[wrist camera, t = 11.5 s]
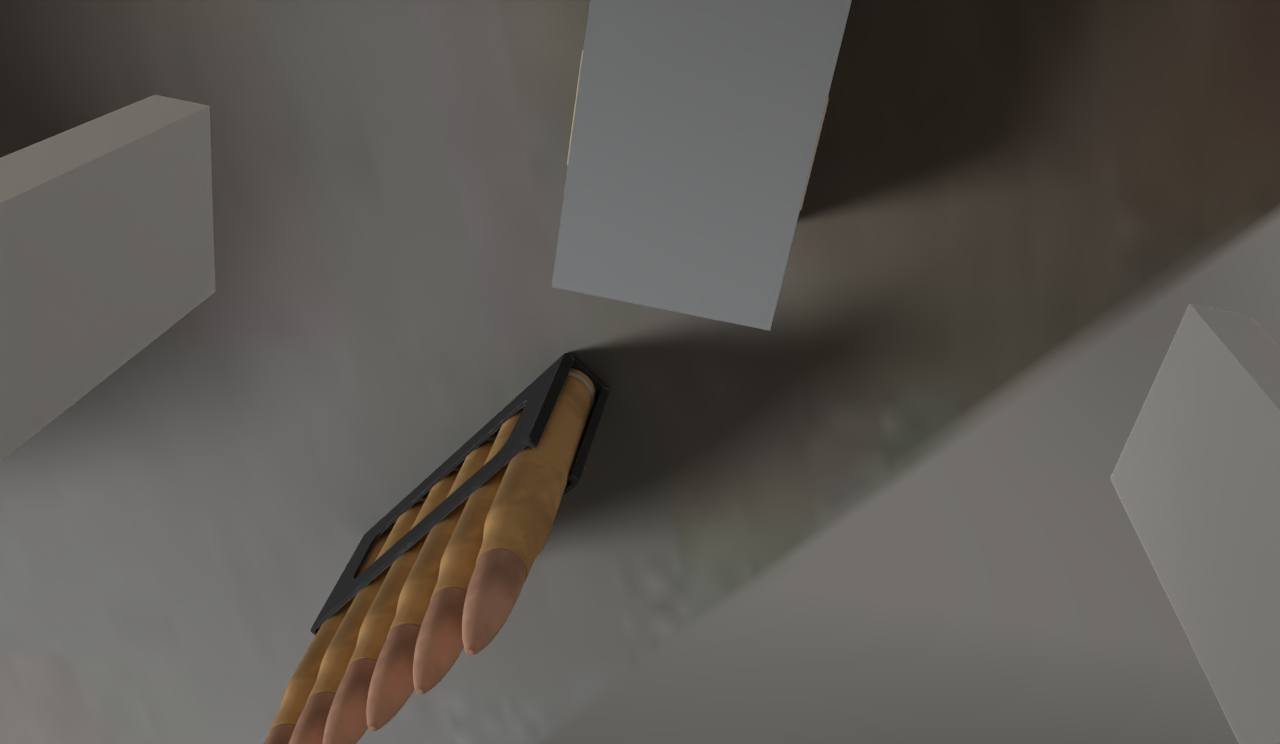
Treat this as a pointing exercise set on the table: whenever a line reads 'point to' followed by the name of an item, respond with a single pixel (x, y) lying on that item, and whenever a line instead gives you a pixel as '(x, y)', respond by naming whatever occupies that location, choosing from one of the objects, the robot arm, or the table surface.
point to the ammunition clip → (443, 564)
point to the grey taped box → (694, 150)
